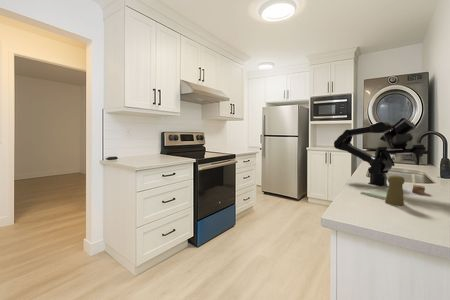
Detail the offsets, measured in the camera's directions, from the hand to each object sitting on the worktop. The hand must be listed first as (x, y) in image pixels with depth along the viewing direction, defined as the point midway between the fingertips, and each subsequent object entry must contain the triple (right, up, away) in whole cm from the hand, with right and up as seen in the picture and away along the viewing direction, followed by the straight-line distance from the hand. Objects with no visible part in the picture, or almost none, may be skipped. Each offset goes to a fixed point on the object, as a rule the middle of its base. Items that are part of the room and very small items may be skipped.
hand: (406, 165), depth 101 cm
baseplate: (-12, -13, -1) cm, 18 cm away
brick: (+8, -13, +3) cm, 15 cm away
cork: (-14, -14, -12) cm, 24 cm away
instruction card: (+4, -13, +8) cm, 15 cm away
